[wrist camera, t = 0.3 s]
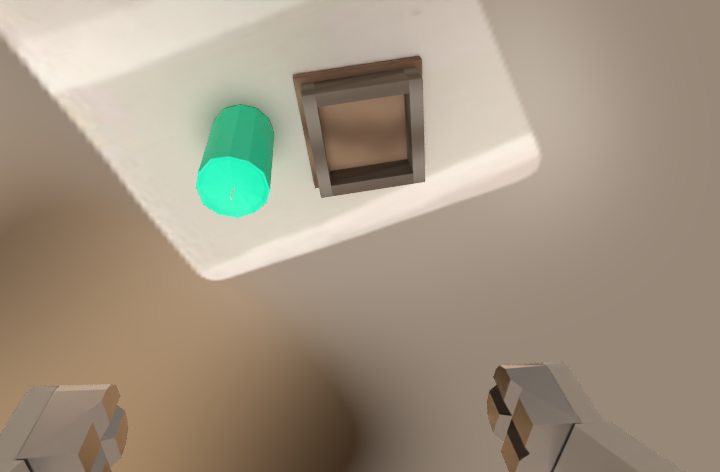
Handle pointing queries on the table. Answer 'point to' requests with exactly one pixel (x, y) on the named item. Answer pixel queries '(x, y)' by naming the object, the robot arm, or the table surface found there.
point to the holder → (364, 125)
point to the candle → (237, 162)
